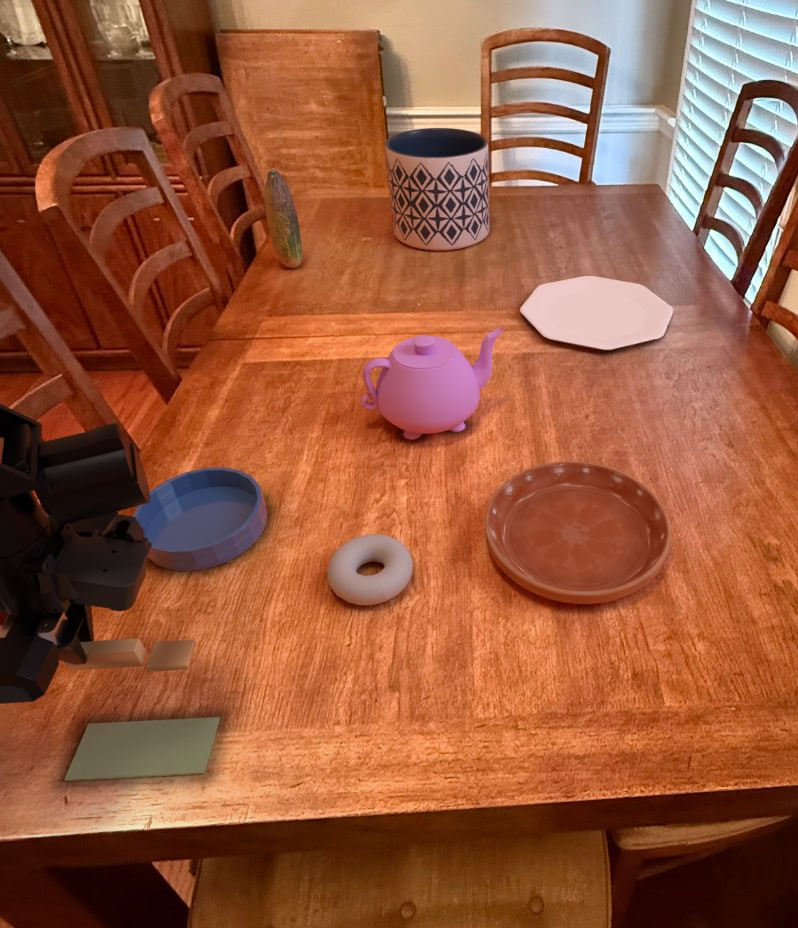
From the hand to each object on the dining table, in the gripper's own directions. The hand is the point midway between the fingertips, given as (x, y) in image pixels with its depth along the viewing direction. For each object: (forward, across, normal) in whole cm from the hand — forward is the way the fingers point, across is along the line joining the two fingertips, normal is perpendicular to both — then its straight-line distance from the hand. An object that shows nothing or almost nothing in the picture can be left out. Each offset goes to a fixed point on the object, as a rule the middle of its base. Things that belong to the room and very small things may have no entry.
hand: (84, 654), depth 63 cm
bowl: (+10, +26, -2) cm, 28 cm away
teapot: (+10, +48, -32) cm, 58 cm away
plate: (+10, +78, -62) cm, 100 cm away
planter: (+10, +121, -33) cm, 126 cm away
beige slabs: (+1, 0, -3) cm, 4 cm away
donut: (+10, +16, -24) cm, 30 cm away
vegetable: (+10, +105, -1) cm, 105 cm away
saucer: (+10, +20, -49) cm, 54 cm away
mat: (+10, -4, -3) cm, 11 cm away
